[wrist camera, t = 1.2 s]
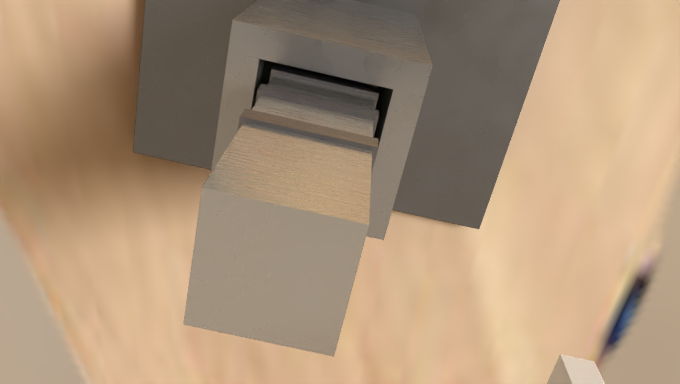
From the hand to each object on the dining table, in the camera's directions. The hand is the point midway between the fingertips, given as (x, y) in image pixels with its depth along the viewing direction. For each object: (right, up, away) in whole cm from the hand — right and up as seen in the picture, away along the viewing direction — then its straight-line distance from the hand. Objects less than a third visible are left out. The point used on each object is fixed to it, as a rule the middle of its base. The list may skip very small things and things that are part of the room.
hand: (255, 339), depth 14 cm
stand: (+2, +11, +23) cm, 26 cm away
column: (+2, +10, +22) cm, 24 cm away
